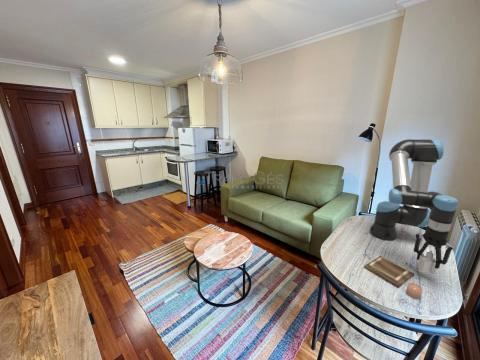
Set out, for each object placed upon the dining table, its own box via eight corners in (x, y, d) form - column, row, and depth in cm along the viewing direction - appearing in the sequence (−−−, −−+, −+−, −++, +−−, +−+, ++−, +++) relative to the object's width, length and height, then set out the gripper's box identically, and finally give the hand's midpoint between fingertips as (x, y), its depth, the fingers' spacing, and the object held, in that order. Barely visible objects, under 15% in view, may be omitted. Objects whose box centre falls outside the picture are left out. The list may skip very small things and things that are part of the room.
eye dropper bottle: (433, 276, 95) (440, 255, 92) (418, 271, 98) (424, 251, 95) (431, 270, 99) (437, 250, 95) (416, 266, 102) (422, 246, 98)
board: (379, 257, 113) (380, 253, 113) (414, 275, 100) (415, 271, 99) (363, 267, 106) (364, 263, 106) (398, 288, 93) (399, 284, 92)
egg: (409, 288, 93) (410, 281, 92) (422, 295, 88) (424, 288, 87) (403, 292, 90) (405, 285, 89) (417, 300, 86) (419, 293, 85)
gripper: (410, 222, 97) (401, 261, 104) (461, 240, 82) (446, 284, 89) (417, 218, 100) (408, 256, 107) (468, 234, 85) (453, 277, 92)
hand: (425, 269), depth 98 cm, fingers closed on eye dropper bottle, 5 cm apart
